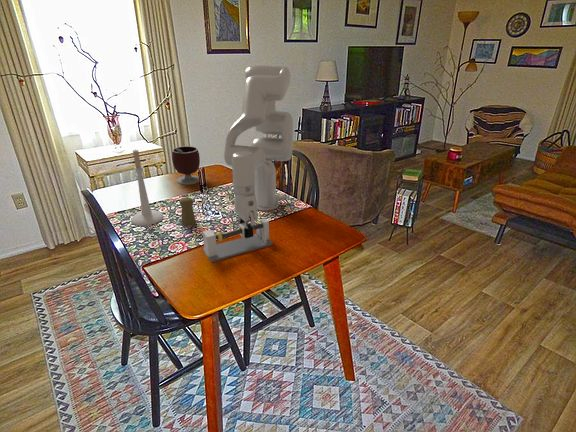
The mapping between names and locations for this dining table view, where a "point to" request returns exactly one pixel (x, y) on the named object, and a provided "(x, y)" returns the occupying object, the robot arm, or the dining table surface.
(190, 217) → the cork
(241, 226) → the sleeve
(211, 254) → the grey rod stand
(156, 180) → the dining table surface
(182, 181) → the mate gourd
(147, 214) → the candlestick
